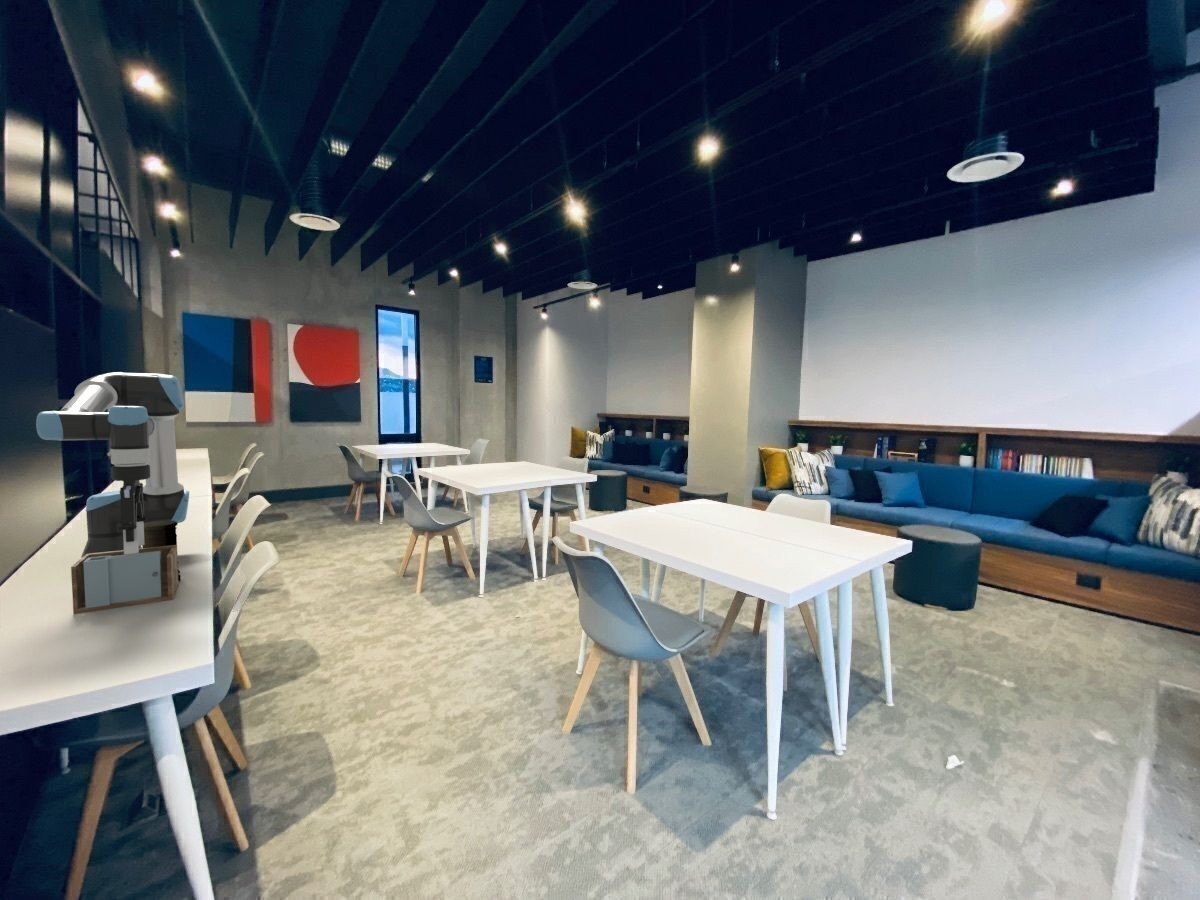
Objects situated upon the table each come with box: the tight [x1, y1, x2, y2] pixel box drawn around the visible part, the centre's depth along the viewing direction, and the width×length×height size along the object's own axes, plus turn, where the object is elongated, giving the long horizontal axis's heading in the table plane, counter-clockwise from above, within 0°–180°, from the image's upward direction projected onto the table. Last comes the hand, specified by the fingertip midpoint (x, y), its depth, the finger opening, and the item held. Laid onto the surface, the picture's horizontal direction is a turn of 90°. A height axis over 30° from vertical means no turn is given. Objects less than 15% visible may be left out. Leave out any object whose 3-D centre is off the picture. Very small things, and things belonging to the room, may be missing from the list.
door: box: [83, 551, 163, 608], centre depth 132 cm, size 5×14×12 cm, turn 125°
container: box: [141, 521, 182, 582], centre depth 149 cm, size 9×9×18 cm
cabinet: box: [70, 544, 179, 615], centre depth 136 cm, size 14×19×12 cm
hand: (134, 549), depth 133 cm, fingers open, 8 cm apart
